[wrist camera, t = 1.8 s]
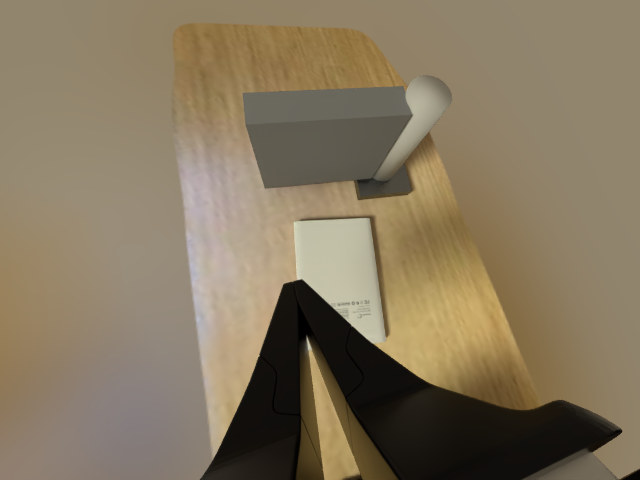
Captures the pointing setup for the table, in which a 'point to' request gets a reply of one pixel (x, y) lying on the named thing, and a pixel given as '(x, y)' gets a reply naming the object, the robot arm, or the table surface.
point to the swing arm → (340, 130)
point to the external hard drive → (342, 270)
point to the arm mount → (384, 186)
